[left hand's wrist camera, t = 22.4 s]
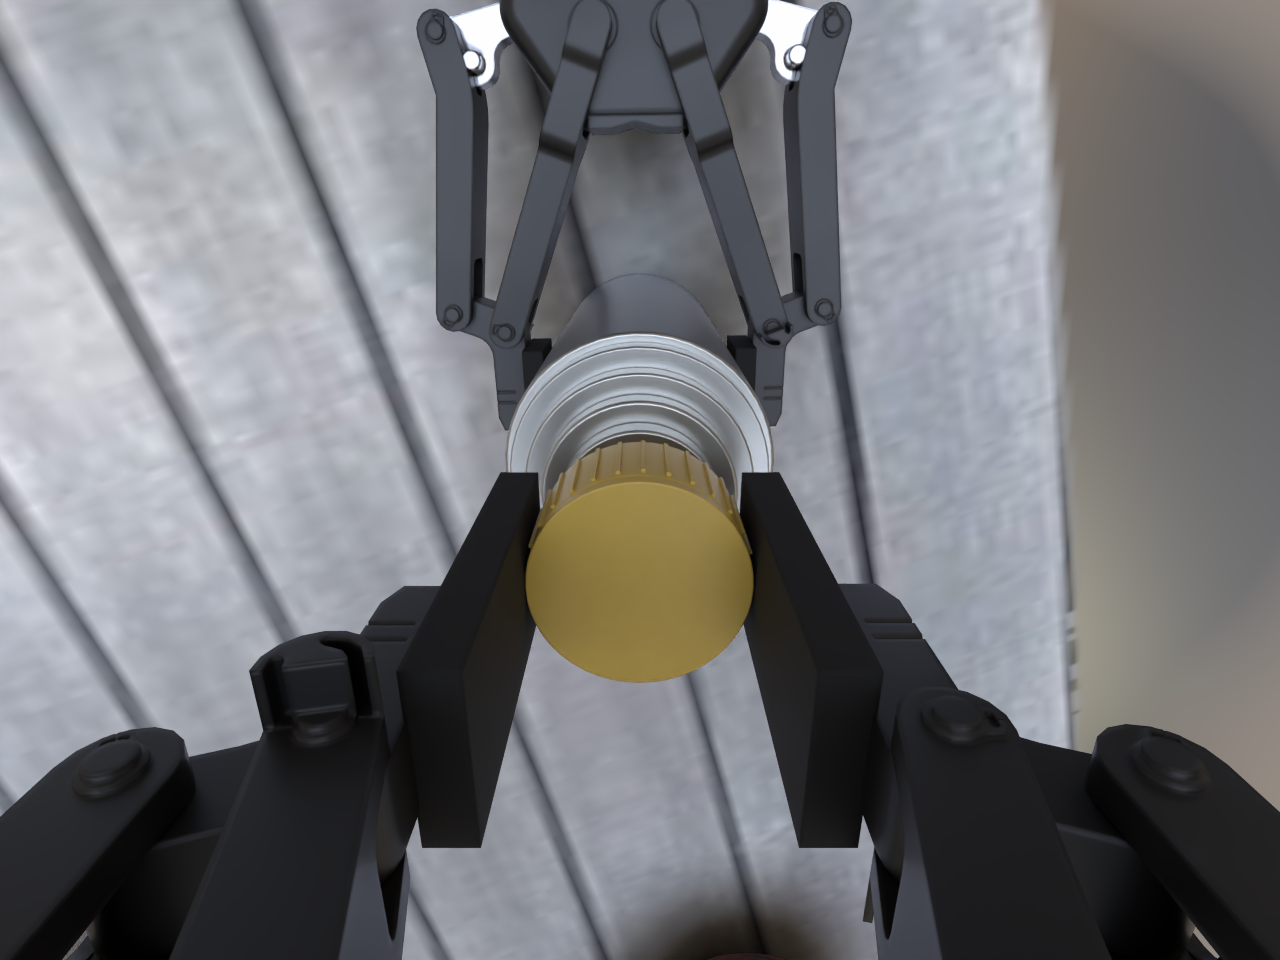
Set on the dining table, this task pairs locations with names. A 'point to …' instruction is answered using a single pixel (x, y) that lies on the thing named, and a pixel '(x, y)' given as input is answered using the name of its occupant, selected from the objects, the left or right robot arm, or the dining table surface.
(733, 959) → the cat face ball
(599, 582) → the cap
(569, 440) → the bottle
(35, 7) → the dining table surface
